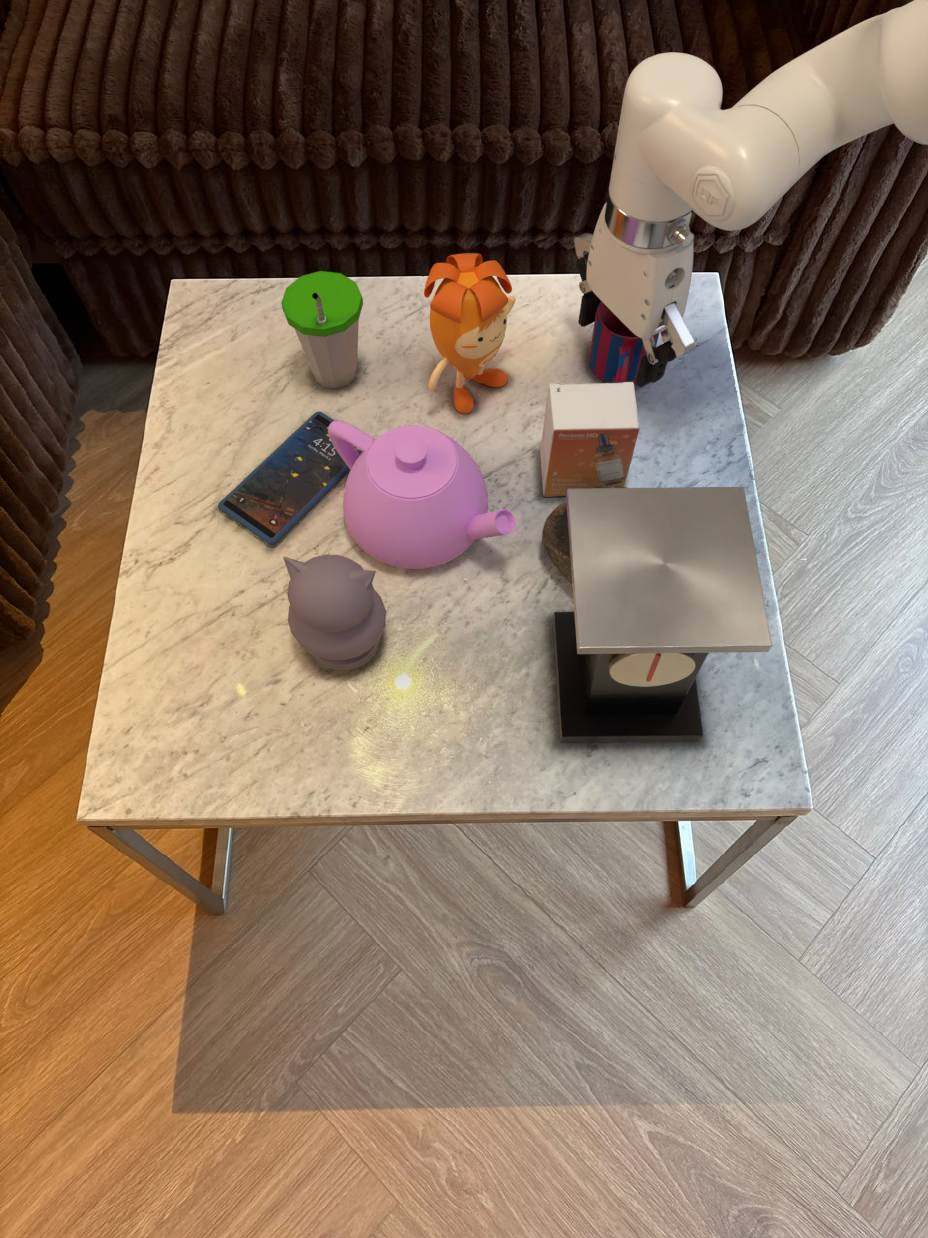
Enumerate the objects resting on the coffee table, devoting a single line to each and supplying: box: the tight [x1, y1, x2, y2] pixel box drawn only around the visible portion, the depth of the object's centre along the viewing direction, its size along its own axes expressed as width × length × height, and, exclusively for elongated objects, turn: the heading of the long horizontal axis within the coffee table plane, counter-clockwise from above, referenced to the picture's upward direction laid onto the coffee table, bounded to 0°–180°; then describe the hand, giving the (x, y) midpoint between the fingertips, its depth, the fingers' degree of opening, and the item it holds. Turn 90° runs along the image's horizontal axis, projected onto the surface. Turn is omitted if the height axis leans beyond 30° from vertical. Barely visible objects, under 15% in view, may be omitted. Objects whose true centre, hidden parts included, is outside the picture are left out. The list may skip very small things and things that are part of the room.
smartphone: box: [217, 411, 363, 547], centre depth 94 cm, size 8×1×15 cm
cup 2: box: [588, 301, 660, 384], centre depth 97 cm, size 7×10×7 cm
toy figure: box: [423, 252, 517, 415], centre depth 93 cm, size 12×8×15 cm, turn 134°
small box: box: [539, 382, 640, 498], centre depth 90 cm, size 8×6×10 cm
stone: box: [541, 485, 628, 585], centre depth 88 cm, size 11×11×5 cm
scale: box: [552, 486, 773, 744], centre depth 75 cm, size 13×13×20 cm
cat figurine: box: [282, 554, 387, 672], centre depth 81 cm, size 8×8×12 cm
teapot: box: [328, 419, 517, 570], centre depth 87 cm, size 14×20×11 cm
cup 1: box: [280, 270, 364, 391], centre depth 94 cm, size 8×8×15 cm
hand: (619, 349), depth 97 cm, fingers open, 9 cm apart
